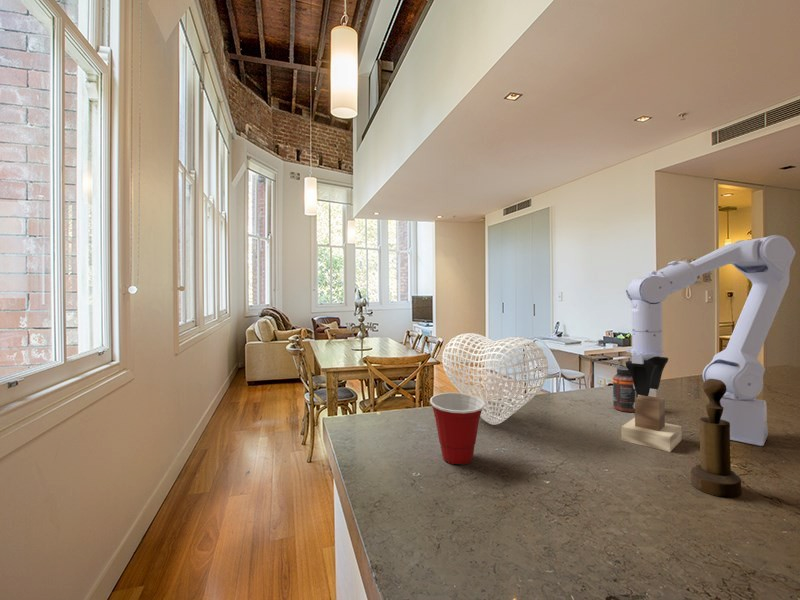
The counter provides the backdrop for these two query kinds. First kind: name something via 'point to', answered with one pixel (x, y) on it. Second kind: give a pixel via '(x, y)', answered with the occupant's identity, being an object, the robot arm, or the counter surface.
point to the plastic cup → (457, 424)
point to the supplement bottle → (624, 391)
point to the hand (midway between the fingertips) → (647, 391)
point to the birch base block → (652, 436)
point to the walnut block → (650, 412)
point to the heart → (490, 346)
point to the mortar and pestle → (715, 448)
